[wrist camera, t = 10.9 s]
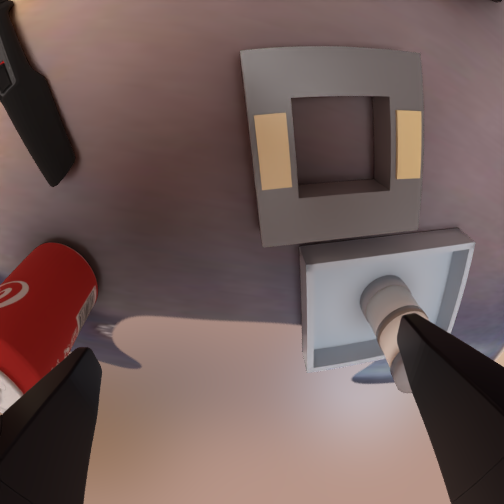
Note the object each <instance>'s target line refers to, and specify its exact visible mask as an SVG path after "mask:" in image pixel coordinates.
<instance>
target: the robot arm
mask: <svg viewBox="0 0 504 504" xmlns="http://www.w3.org/2000/svg"><path fill="white" fill-rule="evenodd" d="M492 1H495V2H501V1H502V0H492ZM397 344H398V348H399V351H400V354H401V357H402V361H403V364H404V368H405V371H406V375H407V378H408V382H409V385H410V388H411V391H412V393H413V396H414V398H415V401H416V403H417V406H418V408H419V411H420V414H421V416H422V419H423V421H424V424H425V427H426V429H427V432H428V435H429V437H430V440H431V443H432V446H433V449H434V452H435V455H436V458H437V461H438V463H439V466H440V470H441V473H442V476H443V479H444V482H445V485H446V488H447V491H448V495H449V498H450V502H451V504H504V367H503V366H501V365H500V364H498V363H496V362H495V361H493V360H492V359H490V358H489V357H487V356H485V355H484V354H482V353H481V352H479V351H477V350H476V349H474V348H473V347H471V346H469V345H468V344H466V343H464V342H463V341H461V340H460V339H458V338H456V337H455V336H453V335H451V334H450V333H448V332H447V331H445V330H443V329H442V328H440V327H438V326H437V325H435V324H433V323H432V322H430V321H428V320H427V319H425V318H423V317H422V316H420V315H418V314H416V313H411V314H406V315H403V316H402V317H401V320H400V325H399V329H398V334H397ZM101 377H102V369H101V366H100V364H99V362H98V360H97V358H96V357H95V355H94V353H93V351H92V350H91V349H90V348H88V347H79V348H77V349H75V350H74V351H73V352H72V353H71V354H69V355H68V356H67V357H66V358H65V359H64V360H62V361H61V362H60V363H59V364H58V365H57V366H55V367H54V368H53V369H52V370H51V371H50V372H49V373H47V374H46V375H45V376H44V377H43V378H42V379H41V380H39V381H38V382H37V383H36V384H35V385H34V386H33V387H31V388H30V389H29V390H28V391H27V392H26V393H25V394H24V395H22V396H21V397H20V398H19V399H18V400H17V401H16V402H15V403H14V404H12V405H11V406H10V407H9V408H8V409H7V410H6V411H5V412H4V413H3V415H0V504H83V503H84V494H85V486H86V479H87V471H88V465H89V459H90V453H91V447H92V441H93V436H94V430H95V425H96V419H97V413H98V404H99V394H100V385H101Z"/></svg>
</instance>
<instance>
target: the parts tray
mask: <svg viewBox="0 0 504 504" xmlns="http://www.w3.org/2000/svg"><path fill="white" fill-rule="evenodd" d="M474 247H475V241H474V240H472V239H471V238H470V237H469V236H467V235H466V234H465V233H464V232H463V231H461V230H460V229H459V228H452V229H443V230H435V231H426V232H417V233H409V234H400V235H391V236H383V237H374V238H366V239H357V240H348V241H340V242H331V243H322V244H314V245H305V246H299V254H300V279H301V312H302V352H303V357H304V361H305V366H306V371H307V373H310V372H317V371H323V370H329V369H335V368H340V367H346V366H351V365H356V364H362V363H367V362H372V361H377V360H381V359H386V357H385V355H384V353H383V351H382V349H381V348H380V346H379V344H378V342H377V340H376V336H375V334H374V332H373V330H372V328H371V326H370V324H369V323H368V322H367V320H366V318H365V316H364V314H363V312H362V310H361V308H360V297H361V294H362V292H363V291H364V289H365V288H366V287H367V285H368V284H370V283H371V282H372V281H373V280H375V279H377V278H379V277H382V276H386V275H394V276H397V277H399V278H401V279H402V280H403V281H404V283H405V284H406V285H407V287H408V288H409V290H410V291H411V294H412V296H413V298H414V299H415V300H416V302H417V303H418V305H419V306H420V308H422V309H423V311H424V312H425V314H426V315H427V317H428V319H429V321H430V322H432V323H433V324H435V325H437V326H438V327H440V328H442V329H443V330H445V331H447V332H448V333H450V334H451V331H452V328H453V325H454V322H455V319H456V315H457V312H458V309H459V306H460V302H461V299H462V295H463V292H464V288H465V285H466V281H467V277H468V273H469V269H470V265H471V260H472V256H473V251H474Z"/></svg>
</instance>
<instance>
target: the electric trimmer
mask: <svg viewBox="0 0 504 504" xmlns="http://www.w3.org/2000/svg"><path fill="white" fill-rule="evenodd" d="M12 6H13V1H8V0H0V102H1V103H2V104H3V106H4V107H5V109H6V111H7V113H8V115H9V117H10V119H11V121H12V123H13V124H14V126H15V128H16V130H17V132H18V133H19V135H20V137H21V139H22V141H23V142H24V144H25V146H26V147H27V149H28V151H29V153H30V154H31V156H32V158H33V159H34V161H35V163H36V164H37V166H38V167H39V169H40V171H41V172H42V174H43V175H44V177H45V179H46V180H47V182H48V183H49V185H50V186H52V187H54V186H56V185H58V184H59V183H60V181H61V180H62V179H63V178H64V177H65V176H66V174H67V173H68V171H69V170H70V168H71V167H72V165H73V163H74V161H75V155H74V152H73V150H72V147H71V145H70V142H69V140H68V137H67V135H66V132H65V129H64V127H63V124H62V122H61V119H60V116H59V114H58V111H57V108H56V106H55V103H54V100H53V97H52V95H51V92H50V89H49V87H48V84H47V81H46V80H45V78H44V77H43V76H42V75H40V74H39V73H37V72H36V71H34V70H33V69H32V68H31V67H30V65H29V63H28V61H27V59H26V57H25V54H24V52H23V50H22V47H21V45H20V43H19V40H18V38H17V35H16V33H15V30H14V28H13V25H12V23H11V20H10V17H9V13H8V12H9V10H10V8H11V7H12Z"/></svg>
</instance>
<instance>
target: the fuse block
mask: <svg viewBox="0 0 504 504" xmlns="http://www.w3.org/2000/svg"><path fill="white" fill-rule="evenodd" d="M240 62H241V70H242V79H243V87H244V95H245V104H246V112H247V121H248V129H249V138H250V147H251V155H252V164H253V173H254V182H255V191H256V200H257V209H258V218H259V227H260V234H261V241H262V247H263V248H265V247H274V246H282V245H291V244H300V243H308V242H317V241H326V240H334V239H343V238H352V237H361V236H369V235H378V234H387V233H396V232H405V231H414V230H418V225H419V216H420V205H421V193H422V178H423V156H424V101H423V80H422V66H421V54H420V53H416V52H408V51H400V50H390V49H379V48H365V47H343V46H298V47H276V48H262V49H250V50H241V51H240ZM318 96H372V99H373V120H374V179H367V180H353V181H339V182H327V183H315V184H304V185H298V179H297V165H296V152H295V139H294V127H293V116H292V105H291V98H297V97H318Z"/></svg>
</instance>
